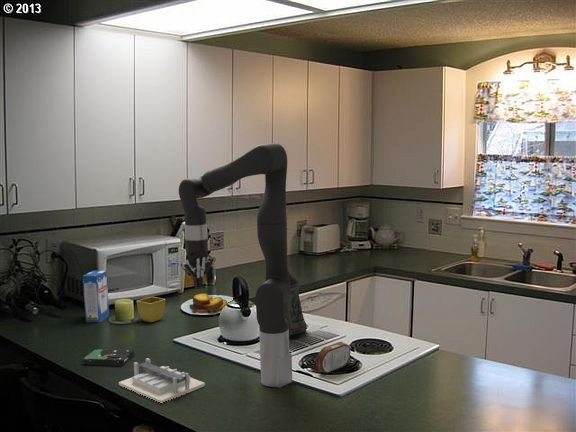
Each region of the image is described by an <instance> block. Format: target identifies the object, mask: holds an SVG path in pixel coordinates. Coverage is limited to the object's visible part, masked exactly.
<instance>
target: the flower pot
mask: <svg viewBox="0 0 576 432" xmlns="http://www.w3.org/2000/svg"><path fill="white" fill-rule="evenodd" d="M136 306H137V313H138V314H139V316H140V318H141V319H142V320H143V321H144V322H148V323H154V322H157V321H160V320H161V319H162V317H163V316H164V313H165V307H166V298H161V297H156V296H148V297H144V298H141V299H138V300H136Z"/></svg>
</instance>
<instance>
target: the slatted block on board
mask: <svg viewBox="0 0 576 432" xmlns="http://www.w3.org/2000/svg"><path fill="white" fill-rule="evenodd" d="M145 362H147V363H150V364H152V362H151V358H148V357H147V358H145ZM139 364H140V363H139V362H137V361H135V362H133V371H134V373H133V375H134V376H132V377H130V378H126V379H124V380H121V381H118V386H119V387H122V388H124V387H125V388H124V389H126V388H127V389H126V390H129V391H131V390H132V391H131V392H133V391H134V392H133V393H135V392H136V393H135V394H137V395H140V394H141V395H140V396H142V395H143V396H142V397H144V396H146V397H145V398H147V397H148V398H147V399H149V398H150V399H149V400H151V399H153V400H155V401H154V402H156V401H157V402H156V403H158V402H160V403H162V404H164V403H163V402H165V401H167V402H169V401H171V399H172V400H174V399H176V397H177V398H180V397H182V396H184V395H186V393H187V394H189V393H191V392H193V391H196V390H200V389H201V388H204V387H205V386H206V383H205V382H204V381H201V380H198V379H195V378H193V377H191V375H190V374H189V372H185V371H182V372H181V371H178V369H177V368H174V369H172V368H170V366H169V365H168V366H165V365H162V366H160V367H161V368H163V369H166V370H168V371H171V372H174V373H176V374H179V375H181V376H185V377H186V380H185V381H182V382H180V383H177V378H175V377H174V378H173V381H171V380H169V379H166V378H164V377H161V376H159V375H156V374H154V373H151V372H148V371H146V370H145V372H143V373H140V368H139ZM181 395H182V396H181ZM173 398H174V399H173ZM153 400H152V401H153ZM168 400H169V401H168ZM160 403H159V404H160ZM165 403H166V402H165Z"/></svg>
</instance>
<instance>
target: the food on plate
mask: <svg viewBox="0 0 576 432" xmlns="http://www.w3.org/2000/svg"><path fill="white" fill-rule="evenodd" d="M192 297H193V298H190V299H188V300H186V301H185V302H183V303H181V305H180V309H181V311H183V312H185V313H187V314H190V315H200V316H201V315H202V316H203V315H204V316H206V315H217V314H219V313H222V312H221V310H222V308H223V307H224V306H225V305H226V304H227V303H228V302H230V301H232V300H233V298H234V297H232V296H228V295H221V294H219V295H217V294H210V295H209V294H208V293H199V294H195V295H194V296H192Z"/></svg>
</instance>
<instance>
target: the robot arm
mask: <svg viewBox="0 0 576 432" xmlns="http://www.w3.org/2000/svg"><path fill="white" fill-rule="evenodd" d="M287 173H288V154H287V151H286V149H285V148H284V147H283V146H282V145H281V144H279V143H276V142H275V143H272V142H271V143H260V144H258V145H256V146H255V147H253V148H251V149H250V150H248V151H247V152H245V153H244V154H242V155H241V156H240V157H237V158H236V159H233V160H232V161H230V162H227V163H224V164H222V165H220V166H217V167H214V168H212V169H210V170H207V171H205V172H204V173H203V175H201V176H197V177H190V178H189V177H188V178H185V179H182V180H181V182H180V183H179V186H178V196H179V200H180V202H181V203H180V204H181V207H182V209H183V213H184V245H185V248H184V249H185V252H186V257H185V261H184V262H182V263H181V264H180V267H181V268H182V269H183V271H184V272H185V273H186V275H187V276H188V277H190V278H191V277H192V278H193V287H194V288H195V289H198V290H199V289H202V288H203V286H204V281H203V278H204V276H205V275H208V273H209V271H210V269H211V267H212V265H213V262H214V258H211V257H210V256H209V254H208V253H209V252H208V251H209V241H208V240H209V237H208V226H207V213H206V212H207V211H206V210H207V209H206V208H205V207H204V206H202V205H199V203H198V199H203V198H206V197H209V196H210V195H212V194H214V193H215V192H218V191H220V190H223V189H225V188H228V187H230V186H232V185H234V184H235V183H236V182H238V181H240V180H242V179H244V178H247V177H252V176H258V175H264V176H265V177H264V180H265V181H264V182H265V186H264V193H263V196H262V200H261V202H260V205H259V208H258V211H257V215H256V227H257V229H256V231H257V241H258V244H259V247H260V249H261V252H262V255H263V257H264V263H265V277H264V281H263V282H262V283H261V284H260V285H258V287H257V289H256V292H255V309H256V310H255V313H256V315H255V316H256V320H257V321H256V322H257V323H258V328H259V358H260V359H259V361H260V362H259V363H260V383H261V384H262V385H263V386H266V387H271V388H278V389H279V388H283V387H284V386H287V385H288V384H291V383H293V359H292V358H293V354H292V352H290V340H289V324H288V320H287V319H286V318H285V316H284V304H285V303H286V302H287V301H288V300H289V297H290V294H291V287H290V280H289V273H290V272H289V273H288V271H289V268H288V223H287V222H288V219H287V192H286V191H287Z"/></svg>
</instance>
